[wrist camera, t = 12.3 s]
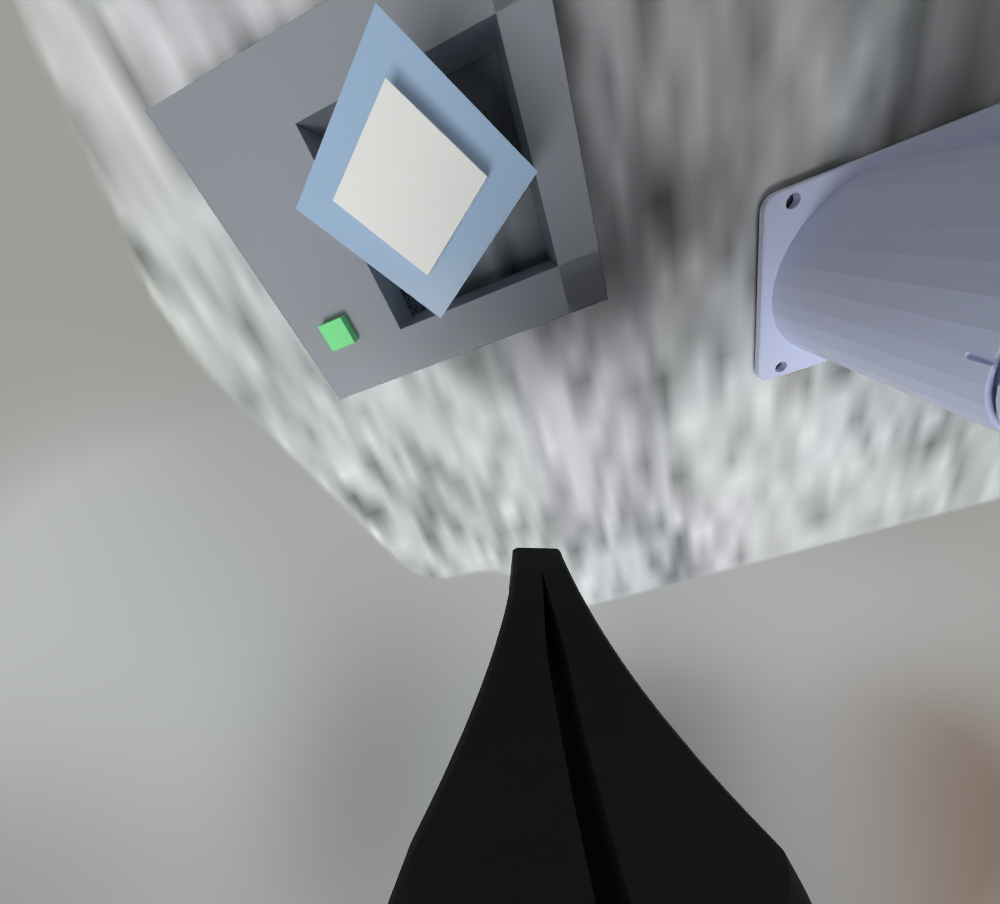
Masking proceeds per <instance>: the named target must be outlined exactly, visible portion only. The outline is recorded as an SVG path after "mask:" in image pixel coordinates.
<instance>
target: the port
mask: <svg viewBox="0 0 1000 904" xmlns="http://www.w3.org/2000/svg"><path fill="white" fill-rule="evenodd" d="M375 3H376V4H377V5H378V6H379V7H380V8H381V9H382V10H383V11H384V12H385V13H386V14H387V15H388V16H389V17H390V18H391V19H392V20H393V22H394V23H395V24H396V25H397V26H398V27H399V28H400V29H401V30H402V31H403V32H404V33H405V34H406V35H407V36H408V37H409V38H410V39H411V40H412V41H413V42H414V43H415V44H416V45H417V46H418V48H419V49H420V50H421V51H422V52H423V53H424V54H425V55H426V56H427V57H428V58H429V59H430V60H431V61H432V62H433V63H434V64H435V65H436V66H437V67H438V68H439V69H440V70H441V71H442V73H443V74H444V75H445V76H448V75H449V74H451V73H453V72H455V71H457V70H459V69H461V68H463V67H464V66H466V65H468V64H470V63H472V62H474V61H476V60H478V59H480V58H481V57H483V56H485V55H487V54H489V53H491V52H493V51H495V50H496V53H497V57H498V61H499V65H500V69H501V73H502V77H503V81H504V84H505V88H506V92H507V96H508V100H509V104H510V108H511V112H512V116H513V120H514V123H515V127H516V131H517V135H518V139H519V143H520V147H521V151H522V155H523V157H524V158H525V159H526V160H527V161H528V162H529V163H530V164H531V165H532V166H533V167H534V168H535V169H536V170H537V171H538V172H537V173H536V175H535V176H534V178H533V179H532V181H531V182H530V186H531V190H532V194H533V198H534V202H535V206H536V209H537V213H538V217H539V221H540V225H541V229H542V233H543V237H544V241H545V245H546V248H547V252H548V256H549V260H547V261H545V262H542V263H540V264H537V265H535V266H533V267H530V268H528V269H525V270H523V271H520V272H518V273H515V274H513V275H510V276H508V277H506V278H503V279H501V280H498V281H496V282H493V283H491V284H488V285H486V286H483V287H481V288H479V289H476V290H474V291H471V292H469V293H466V294H464V295H461V296H459V297H456V298H454V299H453V301H452V302H451V304H450V305H449V307H448V308H447V310H446V311H445V313H444V314H443V316H442V317H441V318H439V317H438V316H437V315H436V314H434V313H433V312H432V311H430V310H429V309H427V310H424V311H422V312H420V313H417V314H415V315H412V313H411V311H410V309H409V307H408V305H407V303H406V301H405V299H404V297H403V295H402V292H401V290H400V288H399V287H398V286H397V285H396V284H394V283H393V282H392V281H390V280H389V279H388V278H387V277H385V276H384V275H383V274H381V273H380V272H379V271H377V270H376V269H375V268H373V267H372V266H371V265H369V264H368V263H367V262H365V261H364V260H363V259H361V258H360V257H359V256H357V255H356V254H355V253H353V252H352V251H351V250H349V249H348V248H347V247H345V246H344V245H343V244H342V243H340V242H339V241H338V240H336V239H335V238H334V237H332V236H331V235H330V234H328V233H327V232H326V231H324V230H323V229H322V228H320V227H319V226H318V225H316V224H315V223H314V222H312V221H311V220H310V219H308V218H307V217H306V216H304V215H303V214H302V213H300V212H299V211H298V210H296V207H297V204H298V202H299V199H300V197H301V194H302V191H303V189H304V186H305V184H306V181H307V179H308V176H309V173H310V171H311V168H312V166H313V163H314V160H315V158H316V155H317V153H318V150H319V147H320V145H321V142H322V140H323V137H324V135H325V132H326V129H327V127H328V124H329V122H330V119H331V116H332V114H333V111H334V109H335V106H336V103H337V101H338V98H339V96H340V93H341V91H342V88H343V85H344V83H345V80H346V78H347V75H348V72H349V70H350V67H351V65H352V62H353V60H354V57H355V54H356V52H357V49H358V47H359V44H360V41H361V39H362V36H363V34H364V31H365V28H366V26H367V23H368V21H369V18H370V16H371V13H372V10H373V8H374V5H375ZM146 113H147V114H148V116H149V117H150V119H151V120H152V122H153V123H154V125H155V126H156V128H157V129H158V131H159V132H160V134H161V135H162V137H163V138H164V140H165V141H166V143H167V144H168V145H169V147H170V148H171V150H172V151H173V153H174V154H175V156H176V157H177V159H178V160H179V162H180V163H181V165H182V166H183V168H184V169H185V171H186V172H187V174H188V175H189V177H190V178H191V180H192V181H193V183H194V184H195V186H196V187H197V188H198V190H199V191H200V193H201V194H202V196H203V197H204V199H205V200H206V202H207V203H208V205H209V206H210V208H211V209H212V211H213V212H214V214H215V215H216V217H217V218H218V220H219V221H220V223H221V224H222V226H223V227H224V229H225V230H226V231H227V233H228V234H229V236H230V237H231V239H232V240H233V242H234V243H235V245H236V246H237V248H238V249H239V251H240V252H241V254H242V255H243V257H244V258H245V260H246V261H247V263H248V264H249V266H250V267H251V269H252V270H253V272H254V273H255V275H256V276H257V277H258V279H259V280H260V282H261V283H262V285H263V286H264V288H265V289H266V291H267V292H268V294H269V295H270V297H271V298H272V300H273V301H274V303H275V304H276V306H277V307H278V309H279V310H280V312H281V313H282V315H283V316H284V318H285V319H286V320H287V322H288V323H289V325H290V326H291V328H292V329H293V331H294V332H295V334H296V335H297V337H298V338H299V340H300V341H301V343H302V344H303V346H304V347H305V349H306V350H307V352H308V353H309V355H310V356H311V358H312V359H313V361H314V362H315V363H316V365H317V366H318V368H319V369H320V371H321V372H322V374H323V375H324V377H325V378H326V380H327V381H328V383H329V384H330V386H331V387H332V389H333V390H334V392H335V393H336V395H337V396H338V398H339V399H342V398H345V397H348V396H350V395H353V394H356V393H358V392H361V391H364V390H366V389H369V388H372V387H374V386H377V385H380V384H382V383H385V382H388V381H390V380H393V379H396V378H398V377H401V376H404V375H406V374H409V373H412V372H414V371H417V370H420V369H422V368H425V367H428V366H430V365H433V364H436V363H438V362H441V361H444V360H446V359H449V358H452V357H455V356H457V355H460V354H463V353H465V352H468V351H471V350H473V349H476V348H479V347H481V346H484V345H487V344H489V343H492V342H495V341H497V340H500V339H503V338H505V337H508V336H511V335H513V334H516V333H519V332H521V331H524V330H527V329H529V328H532V327H535V326H537V325H540V324H543V323H545V322H548V321H551V320H553V319H556V318H559V317H561V316H564V315H567V314H569V313H572V312H575V311H577V310H580V309H583V308H585V307H588V306H591V305H593V304H596V303H599V302H601V301H604V300H607V299H608V297H607V292H606V286H605V281H604V275H603V270H602V265H601V259H600V254H599V248H598V243H597V238H596V232H595V227H594V222H593V216H592V211H591V205H590V200H589V195H588V189H587V184H586V178H585V173H584V168H583V162H582V157H581V151H580V146H579V141H578V135H577V130H576V124H575V119H574V114H573V108H572V103H571V98H570V92H569V87H568V81H567V76H566V71H565V65H564V60H563V54H562V49H561V44H560V38H559V33H558V27H557V22H556V17H555V11H554V6H553V1H552V0H326V1H324V2H322V3H321V4H319V5H317V6H316V7H314V8H313V9H311V10H309V11H308V12H306V13H304V14H303V15H301V16H300V17H298V18H296V19H295V20H293V21H291V22H290V23H288V24H287V25H285V26H283V27H282V28H280V29H278V30H277V31H275V32H274V33H272V34H270V35H269V36H267V37H265V38H264V39H262V40H260V41H259V42H257V43H256V44H254V45H252V46H251V47H249V48H247V49H246V50H244V51H243V52H241V53H239V54H238V55H236V56H234V57H233V58H231V59H230V60H228V61H226V62H225V63H223V64H221V65H220V66H218V67H217V68H215V69H213V70H212V71H210V72H208V73H207V74H205V75H204V76H202V77H200V78H199V79H197V80H195V81H194V82H192V83H190V84H189V85H187V86H186V87H184V88H182V89H181V90H179V91H177V92H176V93H174V94H173V95H171V96H169V97H168V98H166V99H164V100H163V101H161V102H160V103H158V104H156V105H155V106H153V107H151V108H150V109H148V110H147V111H146Z"/></svg>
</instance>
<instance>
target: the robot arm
mask: <svg viewBox="0 0 1000 904" xmlns="http://www.w3.org/2000/svg"><path fill="white" fill-rule="evenodd" d="M790 195H793V198H794V199H793V202H792V204H791V205H790V207H789V208H786V201H787V199H788V198H789V196H790ZM826 361H831V362H834V363H836V364H838V365H841V366H843V367H845V368H848V369H850V370H853V371H855V372H857V373H860V374H862V375H864V376H867V377H869V378H872V379H874V380H876V381H879V382H881V383H883V384H886V385H888V386H891V387H893V388H895V389H898V390H900V391H902V392H905V393H907V394H910V395H912V396H914V397H917V398H919V399H921V400H924V401H926V402H929V403H931V404H933V405H936V406H938V407H940V408H943V409H945V410H948V411H950V412H952V413H955V414H957V415H959V416H962V417H964V418H967V419H969V420H971V421H974V422H976V423H978V424H981V425H983V426H985V427H988V428H990V429H993V430H995V431H997V432H1000V103H998V104H995V105H993V106H990V107H988V108H985V109H983V110H980V111H978V112H975V113H972V114H970V115H967V116H965V117H962V118H960V119H957V120H955V121H952V122H950V123H947V124H945V125H942V126H940V127H937V128H935V129H932V130H930V131H927V132H924V133H922V134H919V135H917V136H914V137H912V138H909V139H907V140H904V141H902V142H899V143H897V144H894V145H892V146H889V147H887V148H884V149H882V150H879V151H876V152H874V153H871V154H869V155H866V156H864V157H861V158H859V159H856V160H854V161H851V162H849V163H846V164H844V165H841V166H839V167H836V168H833V169H831V170H828V171H826V172H823V173H821V174H818V175H816V176H813V177H811V178H808V179H806V180H803V181H801V182H798V183H796V184H793V185H791V186H788V187H785V188H783V189H780V190H778V191H775V192H773V193H772V194H770V195H768V197H767V198H766V199H765V200H764V201H763V203H762V205H761V208H760V217H759V249H758V281H757V313H756V345H755V375H756V376H757V377H759V378H761V379H763V380H767V379H771V378H775V377H778V376H781V375H784V374H787V373H791V372H794V371H797V370H800V369H804V368H807V367H810V366H813V365H817V364H820V363H823V362H826ZM780 362H781V365H780V366H779V367H778V368H777V369H775V368H776V366H777V365H778V364H779V363H780ZM388 904H812V903H811V901H810V899H809V897H808V895H807V893H806V891H805V889H804V887H803V885H802V883H801V881H800V880H799V878H798V876H797V874H796V872H795V870H794V869H793V867H792V865H791V863H790V862H789V860H788V858H787V856H786V854H785V852H784V851H783V850H782V848H781V847H780V846H779V845H778V844H777V843H776V842H775V841H774V840H773V839H772V838H771V837H770V836H769V835H768V834H767V833H766V832H765V831H764V830H763V829H762V828H761V826H760V825H759V824H758V823H757V822H756V821H755V820H754V819H753V818H752V817H751V816H750V815H749V814H748V813H747V812H746V811H745V810H744V809H743V808H742V806H741V805H740V804H739V803H738V802H737V801H736V800H735V799H734V798H733V797H732V796H731V795H730V794H729V792H728V791H727V790H726V789H725V788H724V787H723V786H722V785H721V784H720V782H719V781H718V780H717V779H716V778H715V777H714V776H713V775H712V774H711V773H710V772H709V770H708V769H707V768H706V767H705V766H704V765H703V763H702V762H701V761H700V760H699V759H698V758H697V757H696V755H695V754H694V753H693V752H692V751H691V750H690V748H689V747H688V746H687V745H686V743H685V742H684V741H683V740H682V739H681V737H680V736H679V735H678V734H677V733H676V731H675V730H674V729H673V728H672V727H671V726H670V724H669V723H668V722H667V721H666V720H665V718H664V717H663V716H662V715H661V713H660V712H659V711H658V710H657V708H656V707H655V706H654V704H653V703H652V702H651V700H650V699H649V698H648V697H647V695H646V694H645V693H644V691H643V690H642V689H641V687H640V686H639V685H638V683H637V682H636V681H635V679H634V678H633V676H632V675H631V674H630V672H629V671H628V669H627V668H626V666H625V665H624V664H623V662H622V661H621V659H620V658H619V656H618V655H617V653H616V652H615V650H614V649H613V647H612V646H611V644H610V643H609V641H608V639H607V638H606V637H605V635H604V633H603V632H602V630H601V628H600V627H599V625H598V623H597V622H596V620H595V618H594V617H593V615H592V613H591V611H590V610H589V608H588V606H587V605H586V603H585V601H584V599H583V597H582V596H581V594H580V592H579V590H578V588H577V586H576V584H575V582H574V580H573V579H572V576H571V574H570V572H569V570H568V568H567V566H566V564H565V562H564V559H563V557H562V555H561V552H560V551H559V550H558V549H549V548H516V549H514V550H513V555H512V565H511V575H510V585H509V596H508V600H507V605H506V610H505V614H504V618H503V621H502V625H501V628H500V631H499V635H498V638H497V642H496V645H495V648H494V652H493V654H492V657H491V661H490V663H489V666H488V669H487V672H486V675H485V677H484V680H483V683H482V686H481V688H480V691H479V693H478V696H477V699H476V701H475V704H474V706H473V709H472V711H471V714H470V716H469V719H468V721H467V723H466V726H465V728H464V731H463V733H462V736H461V738H460V740H459V742H458V744H457V747H456V749H455V751H454V753H453V755H452V758H451V760H450V762H449V765H448V767H447V769H446V772H445V773H444V776H443V778H442V780H441V782H440V784H439V786H438V789H437V791H436V793H435V795H434V797H433V799H432V801H431V803H430V805H429V807H428V809H427V811H426V813H425V815H424V817H423V820H422V821H421V823H420V825H419V827H418V829H417V831H416V833H415V836H414V838H413V840H412V842H411V844H410V846H409V849H408V852H407V855H406V858H405V860H404V863H403V865H402V868H401V870H400V873H399V876H398V878H397V881H396V884H395V886H394V889H393V891H392V894H391V897H390V899H389V903H388Z"/></svg>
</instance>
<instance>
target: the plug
mask: <svg viewBox="0 0 1000 904" xmlns="http://www.w3.org/2000/svg"><path fill="white" fill-rule="evenodd" d="M537 172H538V171H537V170H536V169H535V168H534V167H533V166H532V165H531V164H530V163H529V162H528V161H527V160H526V159H525V158H524V157H523V156H522V155H521V154H520V153H519V152H518V151H517V150H516V149H515V147H514V146H513V145H512V144H511V143H510V142H509V141H508V140H507V139H506V138H505V137H504V136H503V135H502V134H501V133H500V132H499V131H498V130H497V129H496V128H495V127H494V126H493V125H492V124H491V122H490V121H489V120H488V119H487V118H486V117H485V116H484V115H483V114H482V113H481V112H480V111H479V110H478V109H477V108H476V107H475V106H474V105H473V104H472V103H471V102H470V101H469V100H468V99H467V98H466V96H465V95H464V94H463V93H462V92H461V91H460V90H459V89H458V88H457V87H456V86H455V85H454V84H453V83H452V82H451V81H450V80H449V79H448V78H447V77H446V76H445V75H444V74H443V73H442V71H441V70H440V69H439V68H438V67H437V66H436V65H435V64H434V63H433V62H432V61H431V60H430V59H429V58H428V57H427V56H426V55H425V54H424V53H423V52H422V51H421V50H420V49H419V48H418V46H417V45H416V44H415V43H414V42H413V41H412V40H411V39H410V38H409V37H408V36H407V35H406V34H405V33H404V32H403V31H402V30H401V29H400V28H399V27H398V26H397V25H396V24H395V23H394V22H393V20H392V19H391V18H390V17H389V16H388V15H387V14H386V13H385V12H384V11H383V10H382V9H381V8H380V7H379V6H378V5H377V4H376V3H375V5H374V8H373V10H372V13H371V16H370V18H369V21H368V23H367V26H366V28H365V31H364V34H363V36H362V39H361V41H360V44H359V47H358V49H357V52H356V54H355V57H354V60H353V62H352V65H351V67H350V70H349V72H348V75H347V78H346V80H345V83H344V85H343V88H342V91H341V93H340V96H339V98H338V101H337V103H336V106H335V109H334V111H333V114H332V116H331V119H330V122H329V124H328V127H327V129H326V132H325V135H324V137H323V140H322V142H321V145H320V147H319V150H318V153H317V155H316V158H315V160H314V163H313V166H312V168H311V171H310V173H309V176H308V179H307V181H306V184H305V186H304V189H303V191H302V194H301V197H300V199H299V202H298V204H297V207H296V210H298V211H299V212H300V213H302V214H303V215H304V216H306V217H307V218H308V219H310V220H311V221H312V222H314V223H315V224H316V225H318V226H319V227H320V228H322V229H323V230H324V231H326V232H327V233H328V234H330V235H331V236H332V237H334V238H335V239H336V240H338V241H339V242H340V243H342V244H343V245H344V246H345V247H347V248H348V249H349V250H351V251H352V252H353V253H355V254H356V255H357V256H359V257H360V258H361V259H363V260H364V261H365V262H367V263H368V264H369V265H371V266H372V267H373V268H375V269H376V270H377V271H379V272H380V273H381V274H383V275H384V276H385V277H387V278H388V279H389V280H390V281H392V282H393V283H394V284H396V285H397V286H398V287H400V288H401V289H402V290H404V291H405V292H406V293H408V294H409V295H410V296H412V297H413V298H414V299H416V300H417V301H418V302H420V303H421V304H422V305H424V306H425V307H426V308H428V309H429V310H430V311H432V312H433V313H434V314H436V315H437V316H438V317H439V318H441V317H442V316H443V314H444V313H445V311H446V310H447V308H448V307H449V305H450V304H451V302H452V301H453V299H454V298H455V296H456V295H457V293H458V291H459V290H460V288H461V287H462V285H463V284H464V282H465V281H466V279H467V278H468V276H469V275H470V273H471V272H472V270H473V269H474V267H475V266H476V264H477V263H478V261H479V260H480V258H481V257H482V255H483V254H484V252H485V251H486V249H487V248H488V246H489V244H490V243H491V241H492V240H493V238H494V237H495V235H496V234H497V232H498V231H499V229H500V228H501V226H502V225H503V223H504V222H505V220H506V219H507V217H508V216H509V214H510V213H511V211H512V210H513V208H514V207H515V205H516V204H517V202H518V201H519V199H520V198H521V196H522V194H523V193H524V191H525V190H526V188H527V187H528V185H529V184H530V182H531V181H532V179H533V178H534V176H535V175H536V173H537Z"/></svg>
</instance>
